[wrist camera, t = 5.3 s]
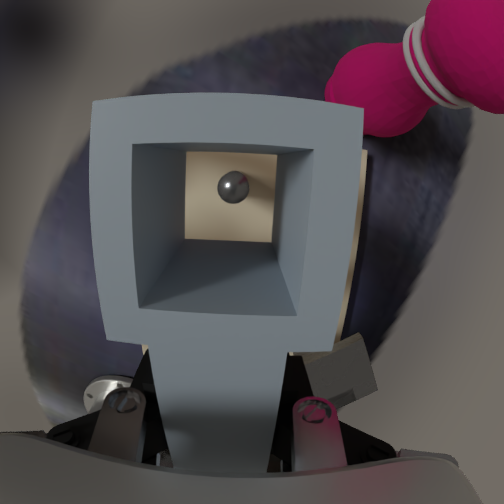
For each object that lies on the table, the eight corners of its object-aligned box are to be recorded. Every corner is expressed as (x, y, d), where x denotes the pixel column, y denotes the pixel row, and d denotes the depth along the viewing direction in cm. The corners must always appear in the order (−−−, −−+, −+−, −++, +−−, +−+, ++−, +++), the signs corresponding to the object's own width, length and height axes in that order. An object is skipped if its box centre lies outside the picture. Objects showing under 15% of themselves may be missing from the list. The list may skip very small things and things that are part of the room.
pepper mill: (406, 100, 22) (594, 63, 3) (368, 157, 23) (584, 176, 4) (345, 48, 20) (494, -76, 1) (301, 104, 22) (461, -25, 3)
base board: (331, 354, 29) (335, 360, 28) (146, 348, 28) (143, 354, 27) (361, 150, 23) (367, 150, 22) (136, 138, 22) (131, 137, 21)
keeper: (255, 314, 27) (262, 381, 18) (325, 283, 26) (362, 338, 17) (278, 356, 29) (291, 426, 20) (343, 328, 28) (377, 389, 19)
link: (268, 442, 15) (276, 522, 9) (182, 439, 14) (170, 517, 9) (303, 132, 10) (363, 108, 5) (163, 127, 10) (93, 101, 4)
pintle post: (246, 192, 24) (248, 204, 17) (223, 191, 24) (216, 203, 17) (247, 170, 23) (250, 172, 16) (224, 169, 23) (217, 171, 16)
